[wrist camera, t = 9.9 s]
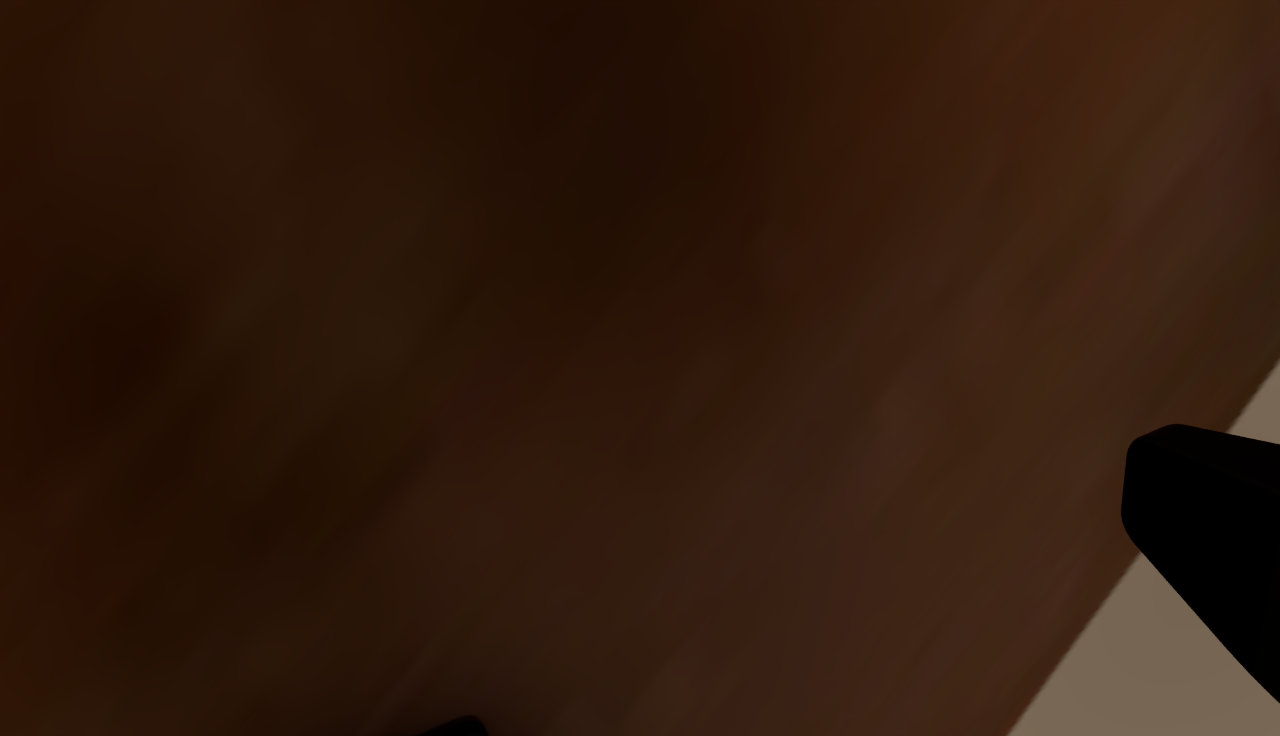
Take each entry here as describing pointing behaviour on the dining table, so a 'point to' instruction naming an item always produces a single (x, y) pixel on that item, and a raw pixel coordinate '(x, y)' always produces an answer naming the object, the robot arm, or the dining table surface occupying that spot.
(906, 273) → the dining table surface
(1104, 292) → the dining table surface
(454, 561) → the dining table surface
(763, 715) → the dining table surface
